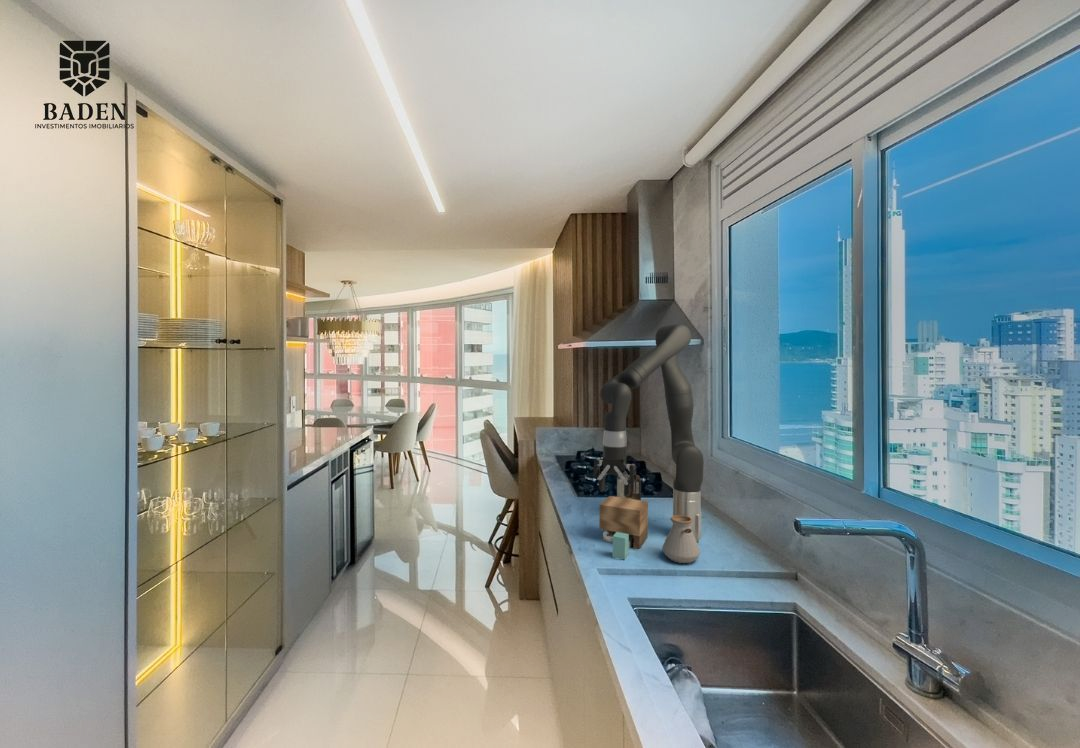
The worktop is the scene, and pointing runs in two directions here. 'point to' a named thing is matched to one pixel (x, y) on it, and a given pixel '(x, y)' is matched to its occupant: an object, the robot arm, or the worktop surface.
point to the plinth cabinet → (625, 518)
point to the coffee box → (634, 488)
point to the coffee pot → (681, 541)
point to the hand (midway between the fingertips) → (614, 493)
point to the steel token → (608, 536)
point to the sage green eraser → (622, 544)
